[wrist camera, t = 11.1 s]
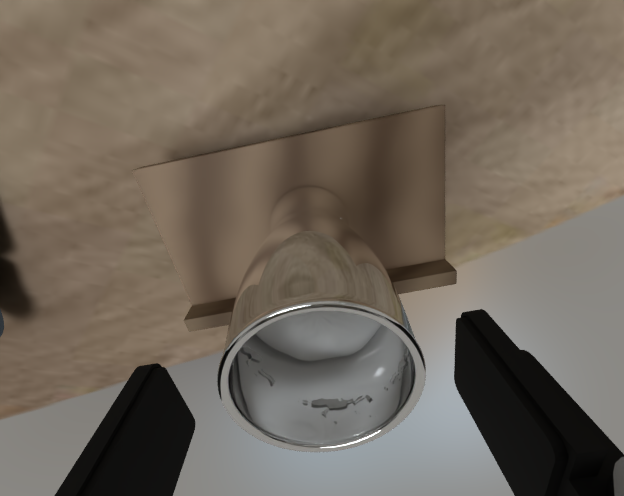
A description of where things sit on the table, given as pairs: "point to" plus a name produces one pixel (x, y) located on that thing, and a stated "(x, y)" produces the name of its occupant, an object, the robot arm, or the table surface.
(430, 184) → the display ledge
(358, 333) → the beer glass
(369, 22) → the table surface
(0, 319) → the decorative butterfly
